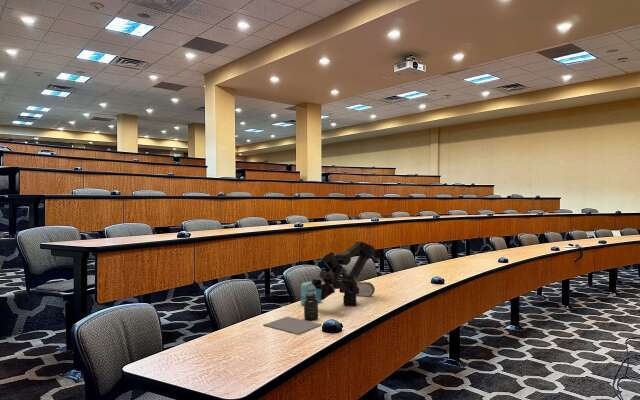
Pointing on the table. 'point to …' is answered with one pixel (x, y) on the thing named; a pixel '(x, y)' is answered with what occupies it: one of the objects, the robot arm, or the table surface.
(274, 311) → the table surface
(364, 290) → the beige rounded slab
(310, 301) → the supplement bottle
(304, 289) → the data package
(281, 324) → the mat
